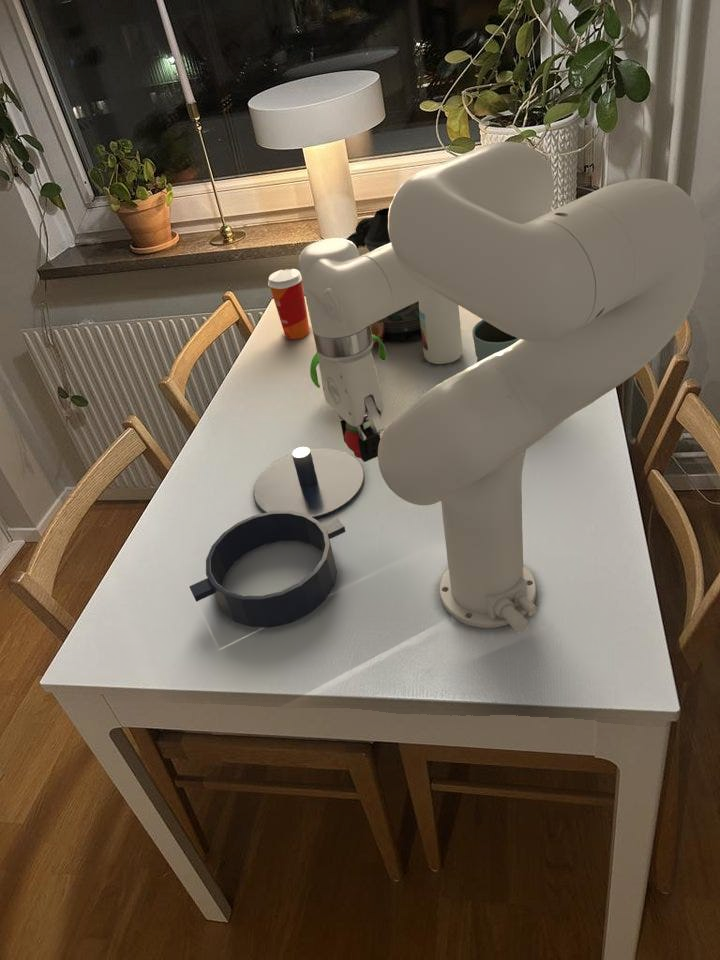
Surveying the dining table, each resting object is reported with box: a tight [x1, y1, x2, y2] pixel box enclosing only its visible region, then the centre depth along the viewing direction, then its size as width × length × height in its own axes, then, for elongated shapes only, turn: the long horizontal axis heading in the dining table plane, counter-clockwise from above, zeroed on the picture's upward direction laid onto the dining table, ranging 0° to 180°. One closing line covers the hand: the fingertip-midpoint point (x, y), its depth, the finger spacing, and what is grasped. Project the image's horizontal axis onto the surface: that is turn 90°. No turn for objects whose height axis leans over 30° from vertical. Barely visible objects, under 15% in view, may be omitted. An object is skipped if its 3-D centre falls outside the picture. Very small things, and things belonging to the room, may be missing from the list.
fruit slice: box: [370, 322, 385, 347], centre depth 156 cm, size 8×7×5 cm
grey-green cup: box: [471, 319, 520, 363], centre depth 133 cm, size 10×10×12 cm
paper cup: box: [267, 268, 310, 340], centre depth 163 cm, size 8×8×14 cm
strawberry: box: [344, 421, 371, 459], centre depth 106 cm, size 5×5×6 cm
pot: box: [189, 511, 347, 629], centre depth 104 cm, size 17×23×6 cm
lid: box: [253, 446, 365, 520], centre depth 120 cm, size 18×18×7 cm
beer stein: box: [345, 207, 422, 344], centre depth 154 cm, size 16×19×25 cm
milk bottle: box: [419, 292, 463, 365], centre depth 143 cm, size 8×8×20 cm
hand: (363, 447), depth 107 cm, fingers closed on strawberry, 4 cm apart
